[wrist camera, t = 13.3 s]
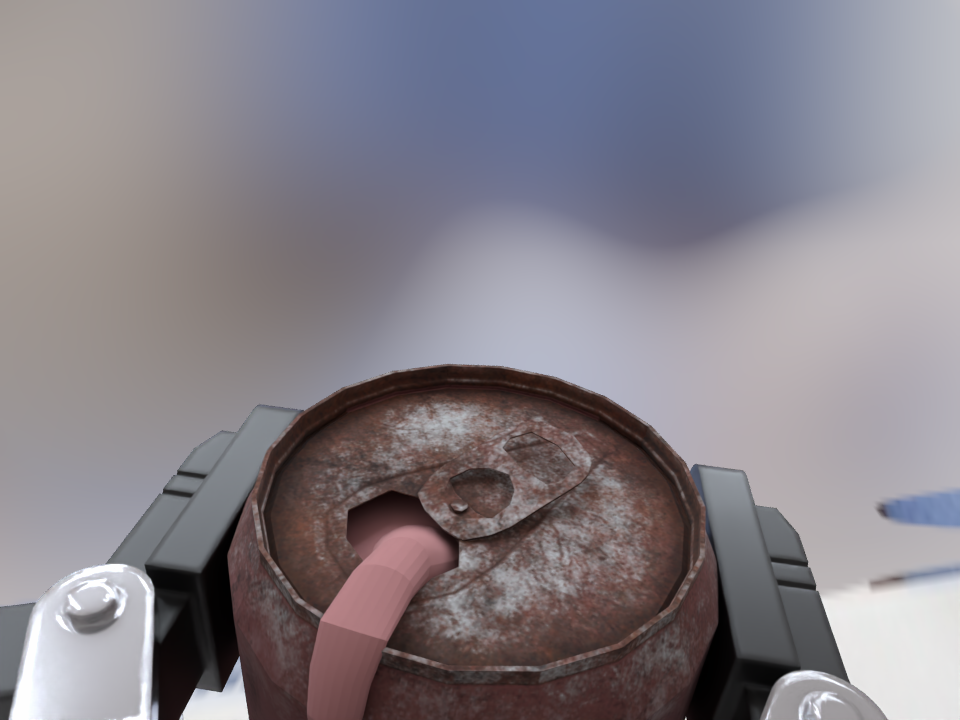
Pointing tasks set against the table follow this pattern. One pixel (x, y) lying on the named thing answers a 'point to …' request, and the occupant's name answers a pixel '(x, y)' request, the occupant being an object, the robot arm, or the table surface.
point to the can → (472, 557)
